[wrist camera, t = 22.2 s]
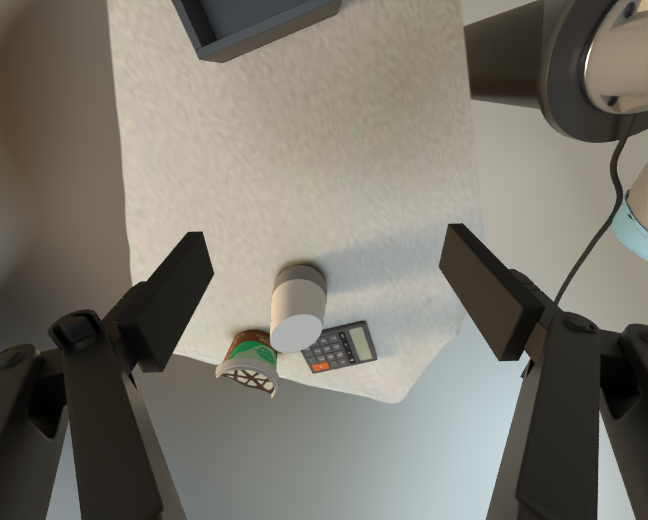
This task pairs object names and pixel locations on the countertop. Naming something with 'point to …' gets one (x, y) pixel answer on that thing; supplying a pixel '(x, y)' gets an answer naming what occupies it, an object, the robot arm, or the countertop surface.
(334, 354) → the calculator
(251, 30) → the dark grey open box
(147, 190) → the countertop surface
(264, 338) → the food container
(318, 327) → the smart speaker
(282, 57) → the countertop surface
